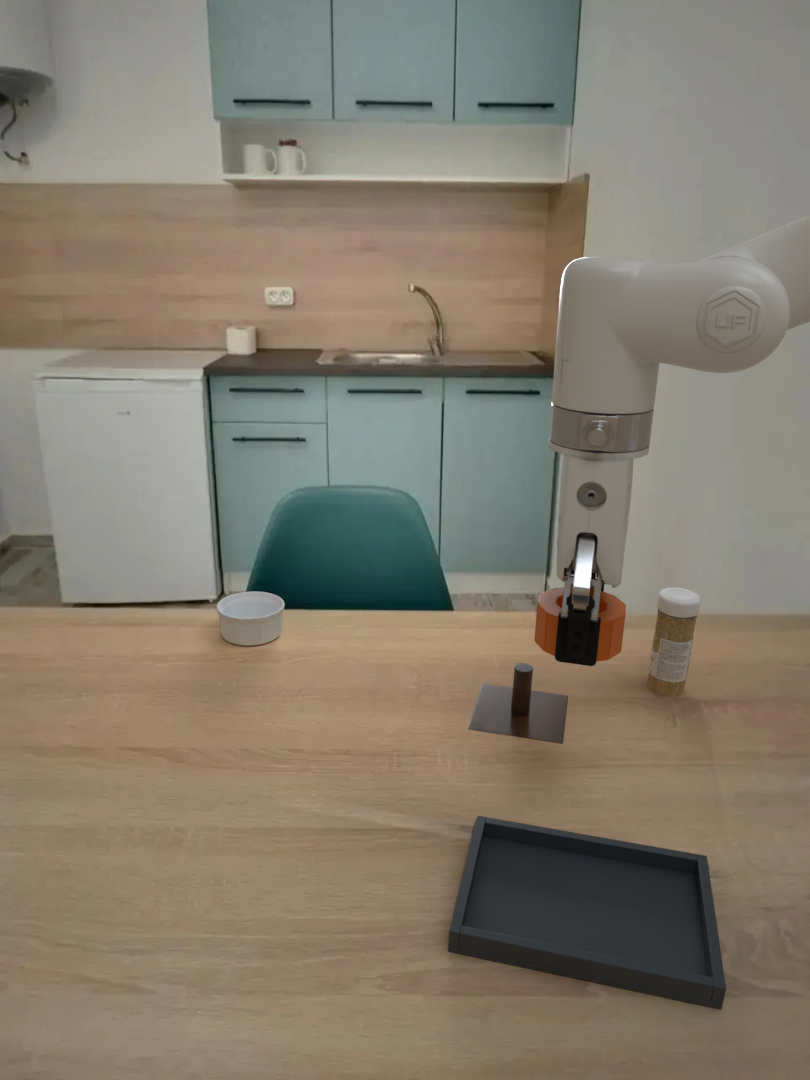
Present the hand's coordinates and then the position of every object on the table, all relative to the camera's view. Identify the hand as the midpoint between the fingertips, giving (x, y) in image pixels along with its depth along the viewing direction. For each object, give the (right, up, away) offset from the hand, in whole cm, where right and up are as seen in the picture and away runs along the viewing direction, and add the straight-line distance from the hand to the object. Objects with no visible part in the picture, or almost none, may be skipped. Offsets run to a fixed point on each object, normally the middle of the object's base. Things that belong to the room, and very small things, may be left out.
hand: (578, 639), depth 69 cm
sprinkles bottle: (+16, -11, +29) cm, 35 cm away
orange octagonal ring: (0, 0, 0) cm, 0 cm away
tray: (0, -22, -2) cm, 22 cm away
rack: (-2, -12, +23) cm, 26 cm away
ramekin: (-35, -5, +42) cm, 55 cm away
